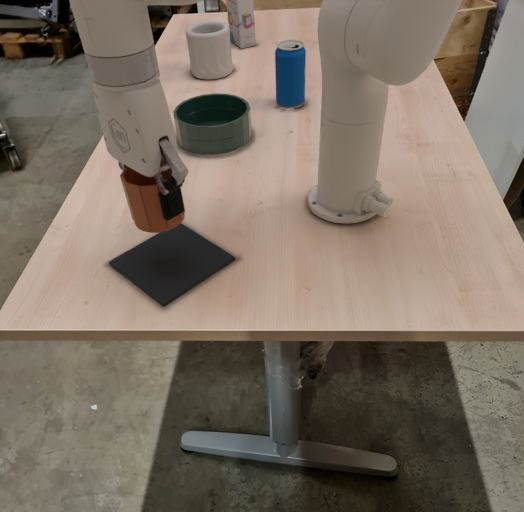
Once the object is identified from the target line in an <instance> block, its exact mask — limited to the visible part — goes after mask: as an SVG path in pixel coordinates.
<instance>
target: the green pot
mask: <svg viewBox="0 0 524 512" xmlns="http://www.w3.org/2000/svg"><path fill="white" fill-rule="evenodd" d="M172 113H173V120H174V127H175V130H176V131H175V132H176V136H177V141H178V142H177V143H178V144H179V146H180V147H181V148H182V149H183V150H185V151H187V152H189V153H193V154H196V155H205V156H210V155H211V156H213V155H223V154H226V153H230V152H231V153H232V152H233V151H237V150H239V149H241V148H243V147H244V146H245V145H247V143H249V141H250V140H251V138H252V136H253V131H252V117H251V115H252V114H251V106H250V104H249V102H248V101H247V100H246V99H245V98H243V97H241V96H238V95H235V94H230V93H206V94H201V95H196V96H192V97H190V98H188V99H185V100H183V101H181V102H180V103H179V104H178V105H176V106H175V108H174V109H173V112H172Z"/></svg>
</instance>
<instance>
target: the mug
mask: <svg viewBox="0 0 524 512" xmlns="http://www.w3.org/2000/svg"><path fill="white" fill-rule="evenodd" d="M185 38H186V43H187V49H188V56H189V63H190V72H191V74H192V75H193V77H195V78H197V79H201V80H217V79H222V78H225V77H227V76H230V74H231V73H232V72H233V70H234V63H233V57H232V45H231V40H230V28H229V24H228V23H226V22H224V21H219V20H204V21H199V22H195V23H193V24H190V25H188V26H187V27H186V29H185Z"/></svg>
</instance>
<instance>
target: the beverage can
mask: <svg viewBox="0 0 524 512" xmlns="http://www.w3.org/2000/svg"><path fill="white" fill-rule="evenodd" d="M306 56H307V51H306V47H305V43H304V42H303V41H301V40H297V39H287V40H286V39H285V40H282V41H279V42H278V43H276V49H275V51H274V67H275V68H274V69H275V70H274V71H275V101H276V104H277V105H278V106H280V107H282V108H292V109H297V108H300V107H301V106H302V105H303V104H304V103H305V101H306V65H307V64H306V59H307V57H306Z"/></svg>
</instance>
